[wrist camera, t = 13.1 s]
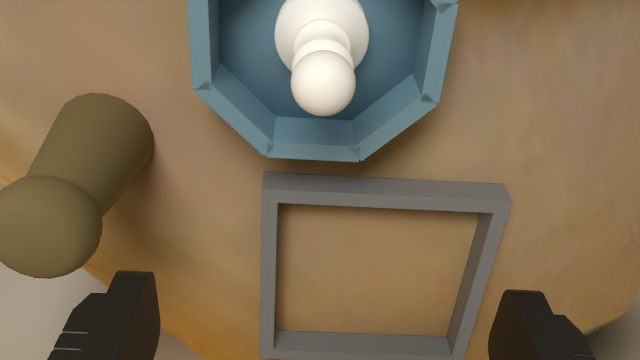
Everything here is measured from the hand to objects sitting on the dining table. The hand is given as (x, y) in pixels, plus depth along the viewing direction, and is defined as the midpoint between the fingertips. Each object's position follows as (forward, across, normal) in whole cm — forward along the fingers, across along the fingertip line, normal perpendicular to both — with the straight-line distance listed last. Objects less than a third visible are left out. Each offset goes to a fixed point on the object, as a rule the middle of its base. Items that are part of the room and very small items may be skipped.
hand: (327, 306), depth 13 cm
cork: (+22, +13, +8) cm, 27 cm away
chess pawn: (+21, 0, 0) cm, 21 cm away
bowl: (+22, 0, 0) cm, 22 cm away
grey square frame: (+22, -5, +18) cm, 28 cm away
